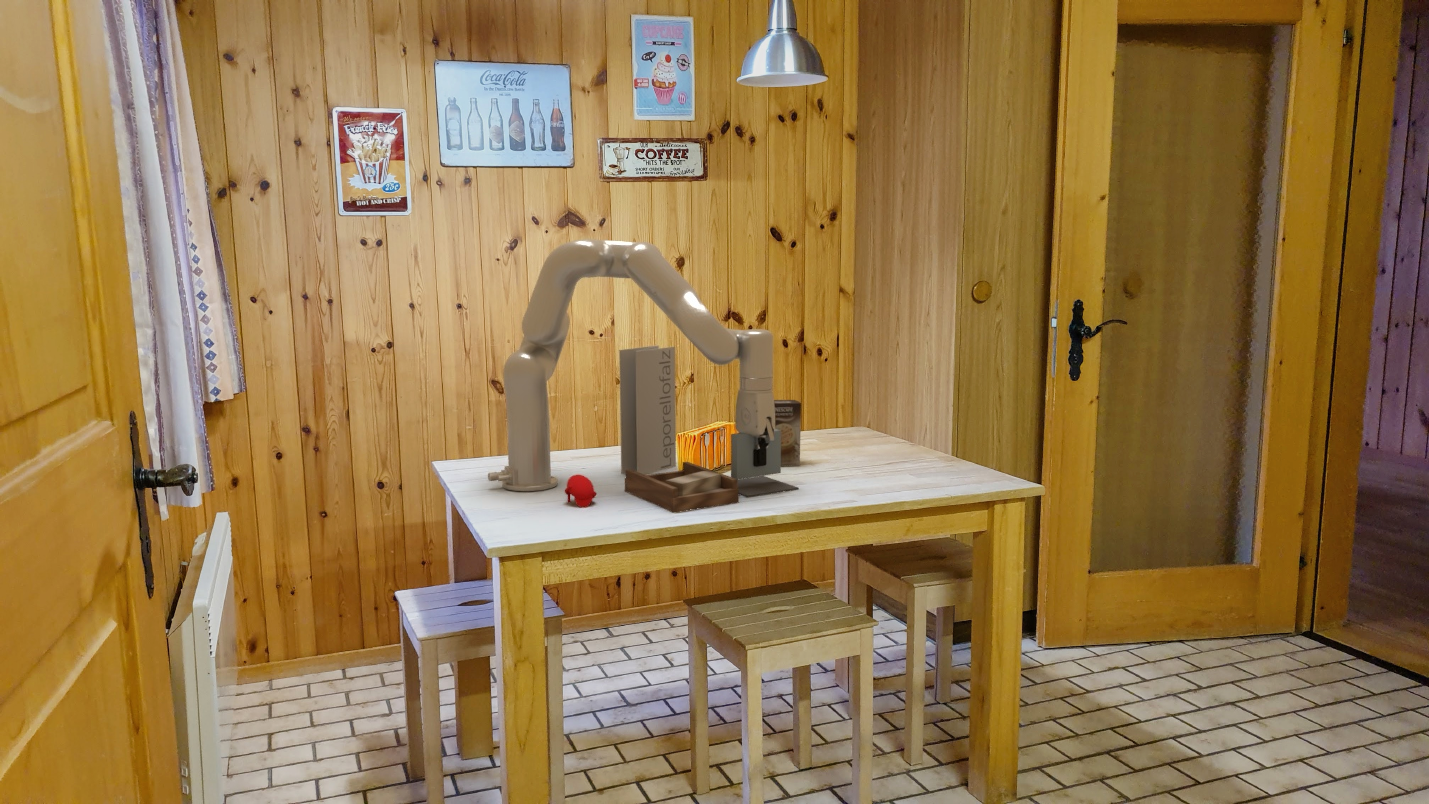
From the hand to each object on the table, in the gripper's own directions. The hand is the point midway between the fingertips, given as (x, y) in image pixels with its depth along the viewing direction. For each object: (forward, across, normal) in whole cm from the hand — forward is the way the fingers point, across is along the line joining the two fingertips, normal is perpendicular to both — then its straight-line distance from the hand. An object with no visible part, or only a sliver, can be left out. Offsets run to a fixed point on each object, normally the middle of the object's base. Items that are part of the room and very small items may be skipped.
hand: (755, 463), depth 234 cm
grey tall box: (+6, -29, -12) cm, 32 cm away
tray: (+5, -2, -19) cm, 20 cm away
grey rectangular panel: (+3, 0, 0) cm, 3 cm away
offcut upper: (+3, +4, -19) cm, 20 cm away
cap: (+6, -8, -40) cm, 41 cm away
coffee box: (+6, -17, +19) cm, 26 cm away
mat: (+5, 0, 0) cm, 5 cm away
